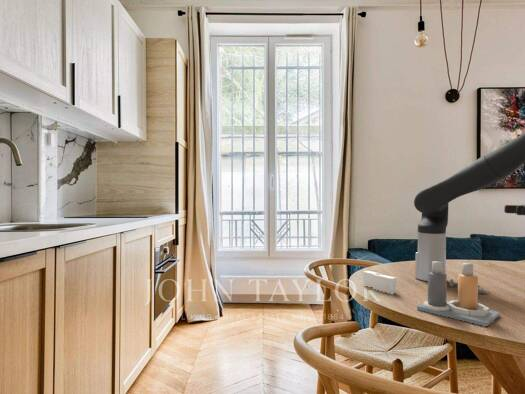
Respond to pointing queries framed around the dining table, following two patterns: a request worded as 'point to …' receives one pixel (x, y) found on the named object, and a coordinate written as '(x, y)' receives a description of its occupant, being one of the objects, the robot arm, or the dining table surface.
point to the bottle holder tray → (450, 308)
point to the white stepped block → (379, 282)
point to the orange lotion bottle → (467, 288)
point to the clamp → (457, 284)
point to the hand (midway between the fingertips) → (510, 209)
